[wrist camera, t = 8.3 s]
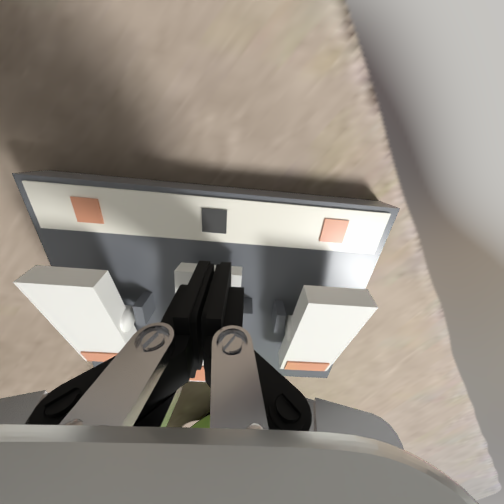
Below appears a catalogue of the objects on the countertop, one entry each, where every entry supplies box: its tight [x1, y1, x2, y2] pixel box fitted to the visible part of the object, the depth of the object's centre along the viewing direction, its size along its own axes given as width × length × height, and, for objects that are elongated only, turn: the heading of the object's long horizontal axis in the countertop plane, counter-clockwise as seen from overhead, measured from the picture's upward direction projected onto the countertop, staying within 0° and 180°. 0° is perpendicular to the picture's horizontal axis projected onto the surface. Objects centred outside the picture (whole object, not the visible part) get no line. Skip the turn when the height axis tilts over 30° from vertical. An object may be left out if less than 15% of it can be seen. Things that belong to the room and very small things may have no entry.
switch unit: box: [12, 170, 400, 378], centre depth 15 cm, size 16×21×4 cm
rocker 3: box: [278, 285, 378, 371], centre depth 13 cm, size 8×4×2 cm, turn 175°
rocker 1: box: [13, 265, 137, 362], centre depth 12 cm, size 8×4×2 cm, turn 175°
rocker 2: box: [174, 262, 242, 382], centre depth 13 cm, size 8×4×2 cm, turn 175°
